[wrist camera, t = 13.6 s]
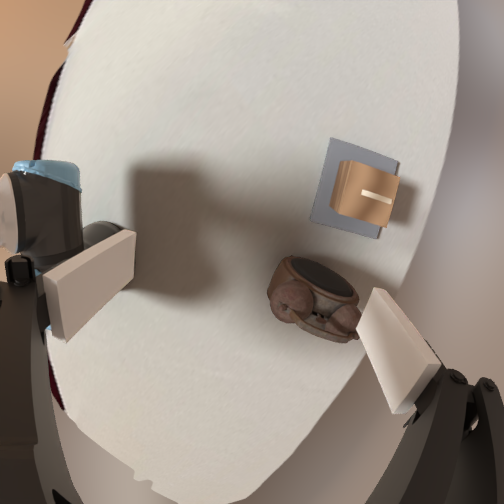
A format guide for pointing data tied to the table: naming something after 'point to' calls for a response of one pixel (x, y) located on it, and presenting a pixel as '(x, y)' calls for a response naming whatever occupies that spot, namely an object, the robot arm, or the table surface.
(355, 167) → the tan drawer box
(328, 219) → the plate
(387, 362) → the robot arm
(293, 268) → the alarm clock
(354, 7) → the table surface
